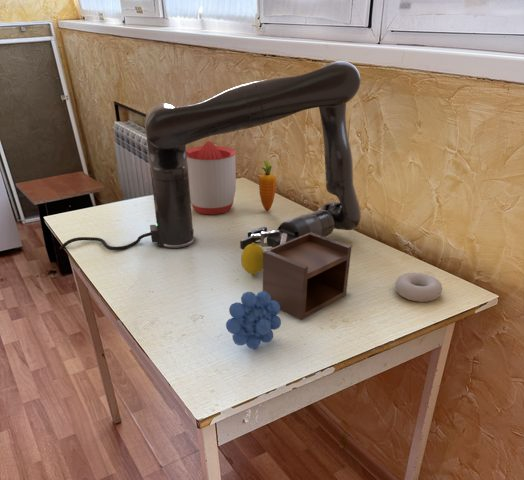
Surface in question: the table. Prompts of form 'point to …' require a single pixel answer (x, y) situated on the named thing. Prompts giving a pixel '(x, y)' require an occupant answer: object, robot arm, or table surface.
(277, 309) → the grapes
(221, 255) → the table surface
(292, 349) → the table surface
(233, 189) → the citrus juicer
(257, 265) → the lemon
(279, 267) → the tray
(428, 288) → the donut
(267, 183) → the carrot
